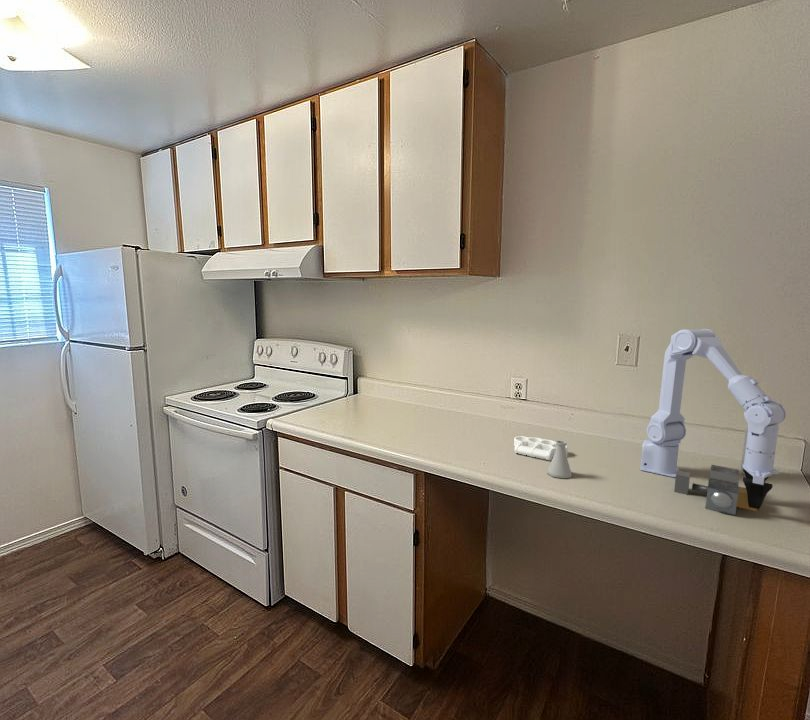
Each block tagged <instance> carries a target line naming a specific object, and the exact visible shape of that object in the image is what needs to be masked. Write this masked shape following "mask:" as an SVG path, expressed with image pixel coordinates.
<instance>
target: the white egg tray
mask: <svg viewBox="0 0 810 720" xmlns="http://www.w3.org/2000/svg"><path fill="white" fill-rule="evenodd" d="M514 446H515V447H514ZM513 447H514V450H513V452H514V454H516V453H518V454H517V455H523V456H526V455H527V456H526V457H531V458H535V457H536V458H537V459H541V460H546V461H548V460H550V461H552V459H553V458H552V457H554V454H555V451H556V447H557V444H556V441H555V440H552V439H544V438H540V437H530V436H529V437H528V436H524V435H521V436H520V435H518V436H515V437H514V439H513ZM565 449H566V456H567V457H568V449H569V448H568V444H567V445H566V448H565Z"/></svg>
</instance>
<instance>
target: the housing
mask: <svg viewBox="0 0 810 720" xmlns="http://www.w3.org/2000/svg"><path fill="white" fill-rule="evenodd" d="M739 472H740V471H739V469H737V468H736V469H735V468H731V467H727V466H722V465H716V464H711V467H710V472H709V478H708V483H707V486H708V490H707V493H706V500H705V501H706V502H705V509H707V510H712V511H715V512H719V513H724V514H727V515H731V516H736V512H737V507H736V506H737V498H738V486H739V483H740V482H739Z"/></svg>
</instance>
